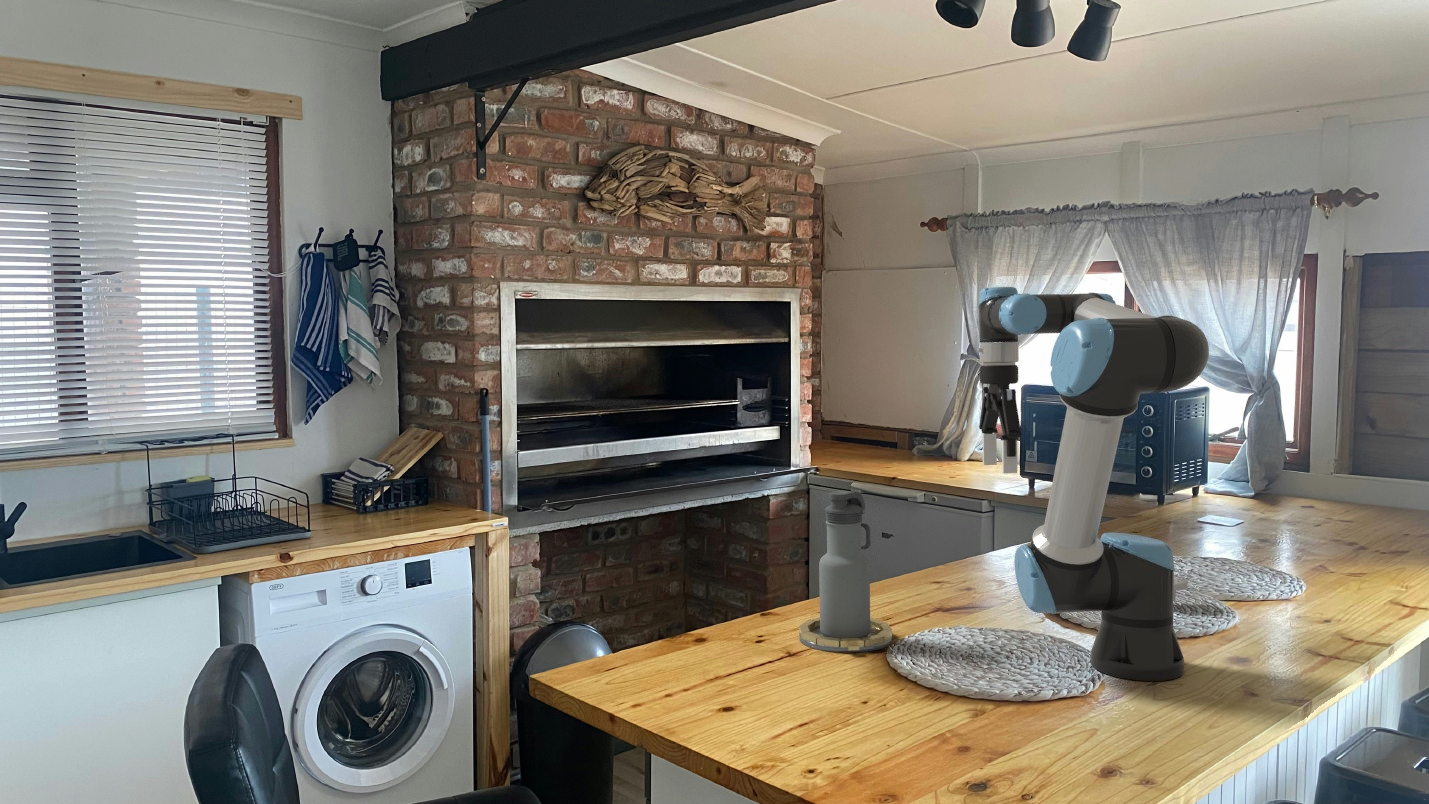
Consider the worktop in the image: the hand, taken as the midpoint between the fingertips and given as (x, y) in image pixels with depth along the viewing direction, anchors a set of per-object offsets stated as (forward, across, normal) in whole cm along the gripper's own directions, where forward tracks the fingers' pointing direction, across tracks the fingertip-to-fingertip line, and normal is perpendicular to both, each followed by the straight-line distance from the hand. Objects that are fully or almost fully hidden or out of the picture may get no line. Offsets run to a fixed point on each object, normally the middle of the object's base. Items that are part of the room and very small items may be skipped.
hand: (999, 469), depth 206 cm
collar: (+32, +8, -33) cm, 46 cm away
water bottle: (+31, +8, -33) cm, 46 cm away
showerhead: (+32, -8, +37) cm, 50 cm away
